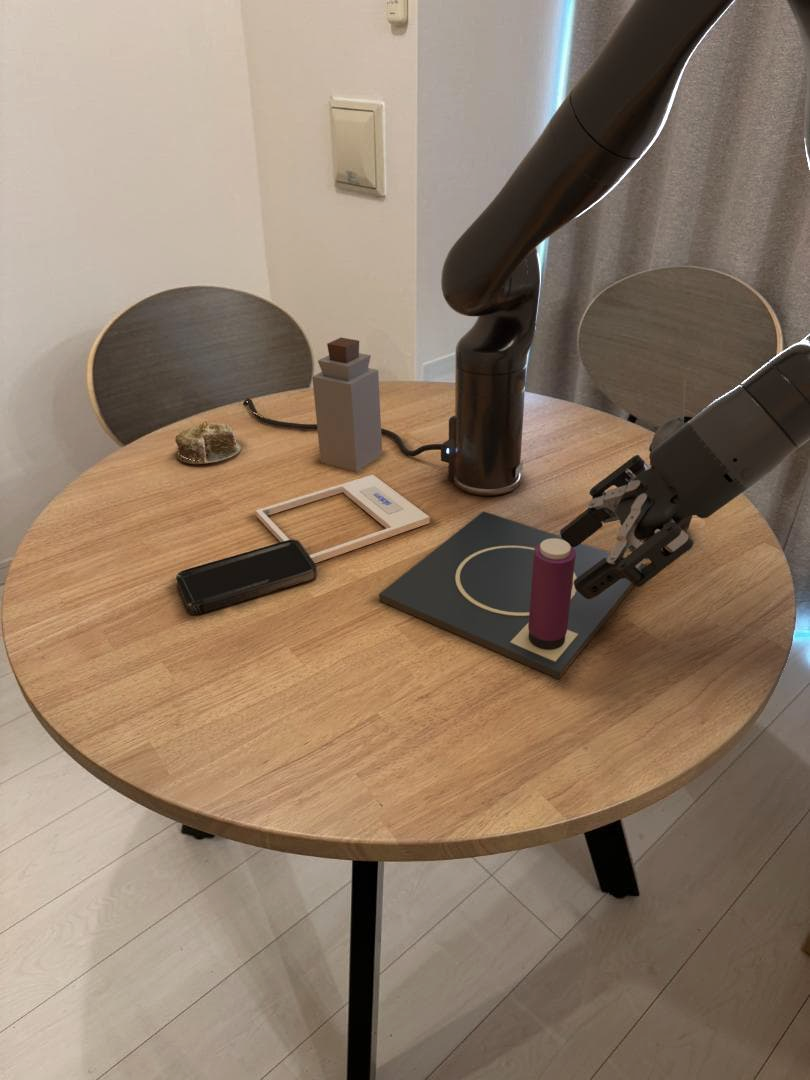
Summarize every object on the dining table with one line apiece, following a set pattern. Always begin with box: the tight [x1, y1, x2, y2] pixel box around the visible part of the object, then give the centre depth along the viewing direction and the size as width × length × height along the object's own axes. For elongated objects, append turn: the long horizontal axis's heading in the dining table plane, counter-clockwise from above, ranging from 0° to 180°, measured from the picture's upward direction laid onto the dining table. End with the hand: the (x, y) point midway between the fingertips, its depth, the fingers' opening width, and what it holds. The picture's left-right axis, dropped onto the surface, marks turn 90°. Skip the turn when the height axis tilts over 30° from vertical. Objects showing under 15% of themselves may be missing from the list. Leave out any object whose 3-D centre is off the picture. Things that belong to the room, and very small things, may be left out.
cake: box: [174, 421, 242, 465], centre depth 115 cm, size 10×10×5 cm
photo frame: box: [255, 474, 430, 564], centre depth 97 cm, size 15×1×18 cm
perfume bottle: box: [311, 337, 383, 473], centre depth 108 cm, size 7×7×18 cm
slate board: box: [378, 511, 648, 680], centre depth 83 cm, size 22×22×1 cm
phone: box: [175, 539, 318, 615], centre depth 85 cm, size 8×1×15 cm
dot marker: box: [528, 538, 576, 650], centre depth 71 cm, size 4×4×11 cm
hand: (572, 564), depth 69 cm, fingers open, 8 cm apart
